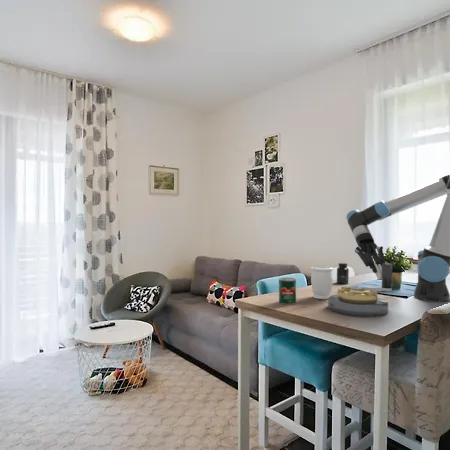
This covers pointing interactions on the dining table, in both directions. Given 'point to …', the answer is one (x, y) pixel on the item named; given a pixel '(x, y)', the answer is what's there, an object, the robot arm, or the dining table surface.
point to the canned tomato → (287, 291)
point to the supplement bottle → (342, 274)
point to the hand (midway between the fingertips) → (382, 278)
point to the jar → (321, 281)
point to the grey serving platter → (358, 308)
